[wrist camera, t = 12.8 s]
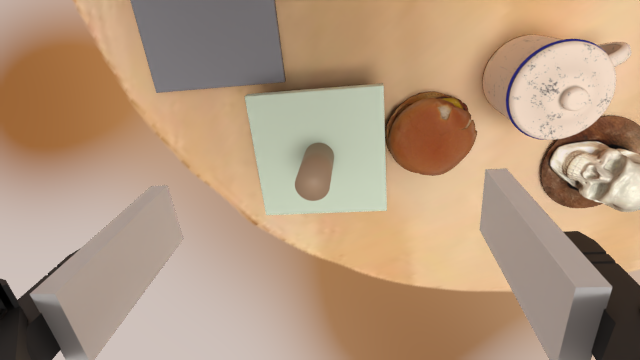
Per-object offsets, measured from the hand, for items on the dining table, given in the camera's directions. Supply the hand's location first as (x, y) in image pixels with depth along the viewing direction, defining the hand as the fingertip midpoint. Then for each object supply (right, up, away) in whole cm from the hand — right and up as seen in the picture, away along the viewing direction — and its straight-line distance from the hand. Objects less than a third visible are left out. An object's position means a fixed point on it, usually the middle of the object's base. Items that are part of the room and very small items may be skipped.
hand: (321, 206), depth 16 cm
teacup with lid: (+24, +13, +26) cm, 37 cm away
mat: (-13, +20, +26) cm, 35 cm away
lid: (0, +4, +26) cm, 26 cm away
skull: (+33, +3, +30) cm, 44 cm away
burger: (+13, +7, +30) cm, 33 cm away
